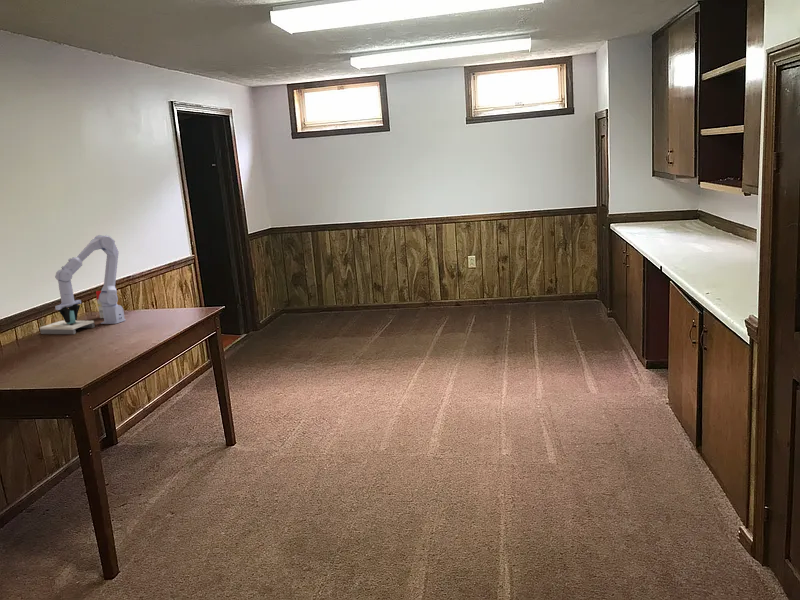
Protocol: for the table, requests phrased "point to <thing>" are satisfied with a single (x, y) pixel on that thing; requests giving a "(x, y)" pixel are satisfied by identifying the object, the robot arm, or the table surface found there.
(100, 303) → the ink box
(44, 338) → the table surface
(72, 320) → the peg
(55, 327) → the board
